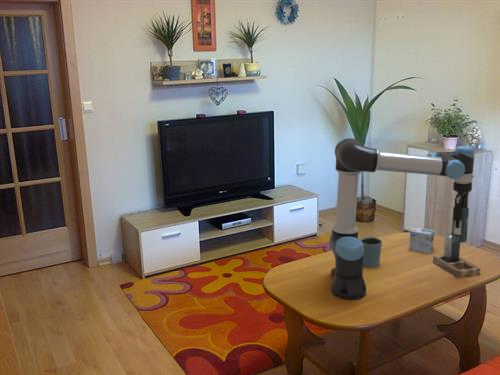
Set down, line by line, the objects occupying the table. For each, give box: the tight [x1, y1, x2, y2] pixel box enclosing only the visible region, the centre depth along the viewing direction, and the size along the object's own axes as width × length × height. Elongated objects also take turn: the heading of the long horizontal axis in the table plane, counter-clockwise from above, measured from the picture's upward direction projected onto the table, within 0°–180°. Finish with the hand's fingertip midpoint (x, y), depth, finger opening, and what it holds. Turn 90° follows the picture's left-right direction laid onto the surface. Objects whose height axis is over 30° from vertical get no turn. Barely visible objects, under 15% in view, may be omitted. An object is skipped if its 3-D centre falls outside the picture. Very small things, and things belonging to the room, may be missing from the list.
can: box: [451, 206, 470, 244], centre depth 227 cm, size 6×6×15 cm
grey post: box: [443, 232, 461, 263], centre depth 244 cm, size 6×7×15 cm
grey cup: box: [360, 236, 383, 268], centre depth 249 cm, size 10×10×12 cm
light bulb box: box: [409, 226, 435, 254], centre depth 264 cm, size 11×7×11 cm, turn 58°
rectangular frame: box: [432, 254, 482, 279], centre depth 242 cm, size 12×19×3 cm, turn 17°
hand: (459, 231), depth 228 cm, fingers closed on can, 6 cm apart
